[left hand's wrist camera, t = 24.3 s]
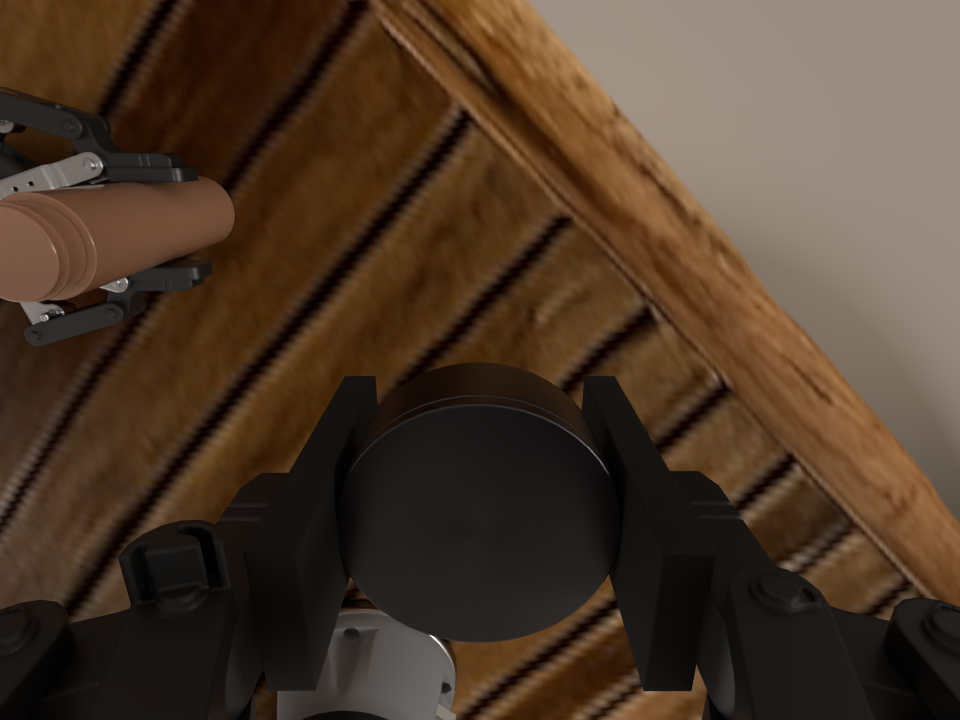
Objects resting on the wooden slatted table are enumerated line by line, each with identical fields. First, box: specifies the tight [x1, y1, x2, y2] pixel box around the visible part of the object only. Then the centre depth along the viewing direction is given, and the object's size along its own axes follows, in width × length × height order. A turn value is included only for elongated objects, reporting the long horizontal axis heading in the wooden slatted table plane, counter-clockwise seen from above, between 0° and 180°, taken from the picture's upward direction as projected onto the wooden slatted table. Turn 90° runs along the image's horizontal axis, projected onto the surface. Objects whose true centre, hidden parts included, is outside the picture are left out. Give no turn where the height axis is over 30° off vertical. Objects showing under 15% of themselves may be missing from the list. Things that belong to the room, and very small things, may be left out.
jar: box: [0, 175, 235, 303], centre depth 29 cm, size 4×4×16 cm
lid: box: [336, 362, 623, 643], centre depth 11 cm, size 5×5×2 cm
